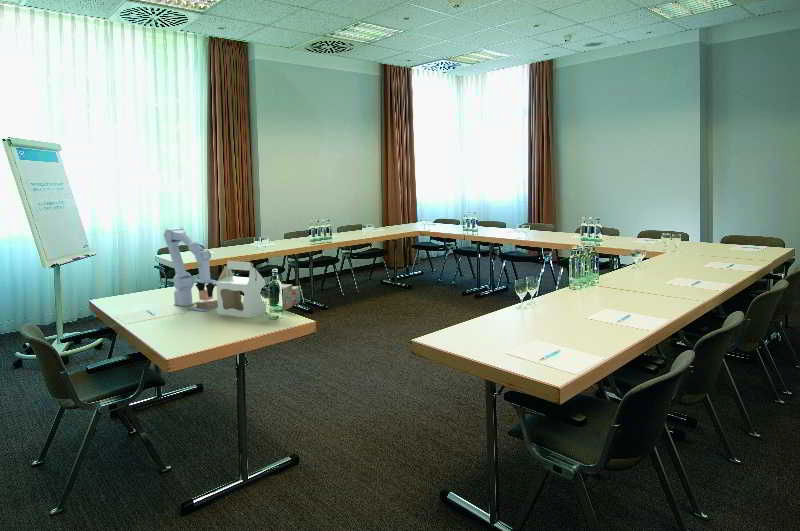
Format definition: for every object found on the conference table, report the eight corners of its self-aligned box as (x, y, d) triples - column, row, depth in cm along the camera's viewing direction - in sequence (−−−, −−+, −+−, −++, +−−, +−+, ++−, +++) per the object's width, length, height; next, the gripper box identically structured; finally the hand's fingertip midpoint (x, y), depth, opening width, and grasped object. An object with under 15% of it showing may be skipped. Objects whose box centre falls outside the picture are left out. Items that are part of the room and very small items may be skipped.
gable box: (267, 312, 286) (264, 260, 281) (250, 318, 274) (246, 264, 270) (236, 308, 296) (232, 258, 291) (218, 314, 284) (213, 262, 280)
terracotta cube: (199, 299, 298) (198, 290, 297) (206, 297, 302) (205, 289, 302) (206, 300, 296) (205, 291, 295) (213, 298, 300) (212, 289, 300)
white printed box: (290, 301, 310) (289, 280, 308) (300, 302, 309) (299, 281, 307) (273, 310, 290) (271, 288, 288) (283, 311, 288) (282, 288, 286)
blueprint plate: (188, 310, 295) (187, 303, 295) (209, 303, 310) (209, 297, 309) (204, 311, 290) (204, 305, 290) (225, 305, 305) (225, 298, 304)
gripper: (189, 272, 296) (191, 296, 298) (209, 274, 290) (211, 298, 292) (198, 270, 303) (200, 294, 305) (218, 271, 297) (220, 296, 299)
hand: (206, 296), depth 299 cm, fingers closed on terracotta cube, 5 cm apart
